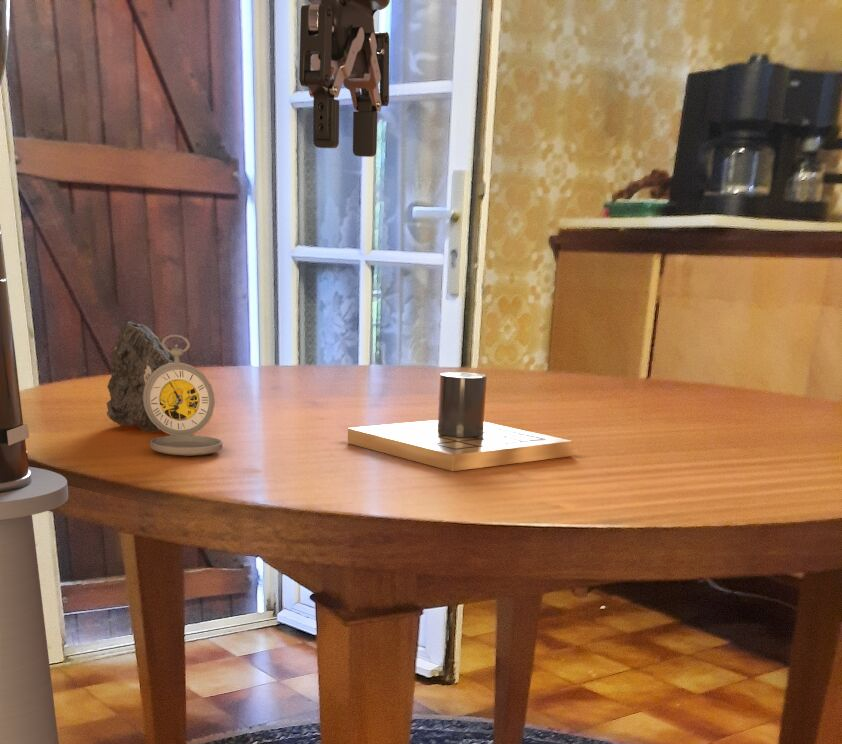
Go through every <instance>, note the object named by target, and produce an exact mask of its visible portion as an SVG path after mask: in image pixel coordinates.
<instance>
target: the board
mask: <svg viewBox="0 0 842 744" xmlns="http://www.w3.org/2000/svg"><path fill="white" fill-rule="evenodd" d="M437 428H438V419H433V420H424V421H422V420H421V421H413V422H412V421H411V422H401V423H390V424H379V425H378V424H377V425H367V426H366V425H365V426H357V427H347V444H350V445H353V446H357V447H361V448H364V449H368V450H371V451H376V452H379V453H383V454H387V455H391V456H395V457H397V458H402V459H404V460H405V459H406V460H409V461H412V462H415V463H420V464H424V465H428V466H431V467H435V468H438V469H442V470H445V471H450V472H458V471H466V470H474V469H482V468H483V469H484V468H489V467H499V466H505V465H513V464H521V463H529V462H536V461H544V460H545V461H546V460H553V459H561V458H568V457H572V455H573V445H574V441H573V440H570V439H566V438H562V437H556V436H552V435H547V434H543V433H538V432H533V431H529V430H523V429H521V428H520V429H519V428H514V427H509V426H506V425H501V424H498V423H497V424H496V423H492V422H486V421H484V430H483V435H482V436H479V437H468V438H464V437H450V436H445V435H441V434H439V433H438V432H437Z"/></svg>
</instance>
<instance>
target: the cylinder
mask: <svg viewBox="0 0 842 744" xmlns="http://www.w3.org/2000/svg"><path fill="white" fill-rule="evenodd" d="M487 382H488V376H487V375H486V374H483V373H478V372H477V373H476V372H469V371H468V372H467V371H466V372H465V371H445V372H441V373H440V374H439V387H438V408H437V409H438V410H437V420H438V428H437V432H438V433H439V434H441V435H445V436H450V437H464V438H468V437H479V436H482V435H483V430H484V422H485V415H486V414H485V413H486V398H487V397H486V395H487V384H488V383H487Z"/></svg>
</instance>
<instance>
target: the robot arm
mask: <svg viewBox="0 0 842 744" xmlns="http://www.w3.org/2000/svg"><path fill="white" fill-rule="evenodd" d="M307 1H308V3H310V4H302V5H301V7H300V26H299V27H300V28H299V71H298V73H299V77H298V78H299V79H298V80H299V84H300V86H301V87H307V88H308V94H309V96H310V98H311V99H312V98H313V99H312V101H313V102H312V103H313V106H312V107H313V110H312V111H313V113H312V114H313V117H312V118H313V123H312V125H313V127H312V128H313V130H312V132H313V133H312V135H313V137H312V139H313V140H312V141H313V145H314V146H315V147H316V148H319V149H337V148H338V146H339V144H340V100H338V99H337V98H338V97H340V93H341V90H342V86H343V87H344V88H345V89H347V90H348V91H349V93H350V99H351V101H352V105H353V110H354V111H353V114H352V153H353V155H354V156H356V157H360V158H361V157H362V158H363V157H364V158H365V157H366V158H372V157H373V158H374V157H375V156H376V154H377V151H378V149H377V147H378V145H377V144H378V113H379V112H381V110H382V107H388V106H389V103H390V34H389V32H388V31H382V32H380V31H379V32H376V29H375V19H374V15H375V13H376V12H378V11H382V10H384V9H386V8H387V7H388V6H389V5H390V2H391V0H307ZM10 3H11V0H0V87H1V85H2V82H3V78H4V75H5V71H6V66H7V61H8V53H9V43H10V18H11V17H10V15H11V14H10V10H11V9H10V8H11V7H10V6H11V5H10ZM335 98H336V99H335ZM0 230H2V227H1V225H0ZM8 288H9V286H8V279H7V271H6V261H5V253H4V245H3V235H2V232H1V231H0V493H4V492H9V491H13V490H17V489H20V488H23V487H25V486H27V485H29V484H30V483H31V473H30V470H29V468H28V467H29V453H28V450H27V443H26V439H30V431H29V423H25V424H24V418H23V409H22V400H21V392H20V384H19V374H18V366H17V357H16V348H15V347H16V346H15V340H14V339H15V338H14V331H13V322H12V315H11V306H10V305H11V304H10V296H9V289H8Z"/></svg>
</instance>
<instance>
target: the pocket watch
mask: <svg viewBox="0 0 842 744" xmlns="http://www.w3.org/2000/svg"><path fill="white" fill-rule="evenodd" d="M170 338H180V339H182V340H183V341H185V343H186V346H185V348H183V349H182V348H180V345H178V343H176V344H174V345H173V348H170V349H171V350H169V349H168V348H167V347H166V346H165V345H166V341H168V339H170ZM161 341H162V347H163V348H164V349H165V350H166V351H168V352H170V354H171V355H172V356H174V359H175V360H174V363H168V364H165V365H163V366H160V367H159V368H158V369H156V370H155V371H154V372H153V373H152V374H151V375H150V376H149V378H148V379H147V382H146V384H145V386H144V391H143V403H144V408H145V410H146V413H147V415H148V417H149V419H150V420H151V421H152V423H153V424H154V425H155V426H156V427H157V428H158V429H160V430H159V431H162V432H163V433H165V434H166V435H165V436H158V437H153V438H152V439H150V440H149V445H150V448H151V449H152V450H153V451H155V452H157V453H160V454H165V455H169V456H186V457H188V456H189V457H191V456H193V457H194V456H204V455H210V454H215V453H217V452H219V451H221V450H222V449H223V440H221V439H220V438H216V437H211V436H205V435H194V434H196V433H197V432H199V431H201V430H203V429H204V427H206V426H207V424H209V422H210V420H211V418H212V416H213V414H214V410H215V406H216V402H215V400H216V399H215V393H214V389H213V386H212V383H211V382H210V380H208V379H209V378H207V376H206V375H205V374H204V373H203V372H202V371H200V370H199V369H198V368H197V367H195V366H193V365H191V364H189V363H184V362H181V359H180V357H181V356H183V355H184V353H186V352H187V351H188V350H189V349H190V348H191V343H190V342H191V341H189V339H188V338H187V337H186V336H183V335H181V334H180V335H179V334H169V335H166V336H165V337H163V338H162V339H161ZM193 388H194V390H195V392H196V393H193V394H191V391H190V390H191V389H193ZM188 391H190V394H189V393H187V392H188ZM193 395H194V396H197V398H194V399H190V398H191V397H192V396H193ZM181 396H182V397H181ZM189 396H190V398H189ZM194 396H193V397H194ZM182 398H183V399H182ZM196 401H198V403H197V407H196V408H193V407H189V405H191V404H189V402H192V404H193V402H196ZM160 402H161V403H162V404H164V405H163V406H162V405H160ZM181 403H182V404H181ZM173 405H175V406H173ZM164 406H166V408H163V407H164ZM171 406H173V407H171ZM171 408H175V410H170V409H171ZM168 409H169V410H168ZM166 410H168V411H174V412H175V411H176V412H178V413H179V419H175V418H173V417H171V414H170V412H169V415H170V416H168V415H166V414H165V413H164V412H165V411H166ZM188 411H189V413H188ZM190 411H191V412H190ZM190 413H191V414H190ZM180 414H183V415H185V416H186V418H183V419H180ZM167 434H168V435H167Z"/></svg>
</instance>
